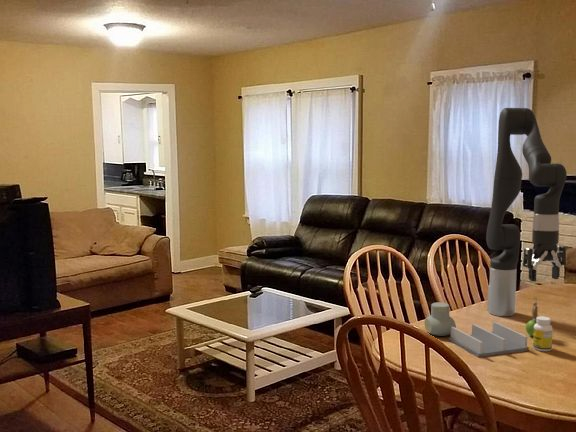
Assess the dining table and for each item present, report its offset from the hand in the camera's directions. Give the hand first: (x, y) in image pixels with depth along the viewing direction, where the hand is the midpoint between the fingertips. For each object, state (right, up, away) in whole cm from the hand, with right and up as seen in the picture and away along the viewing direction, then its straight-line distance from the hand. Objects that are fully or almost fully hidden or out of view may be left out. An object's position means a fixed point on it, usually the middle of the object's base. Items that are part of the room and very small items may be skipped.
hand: (543, 279), depth 189 cm
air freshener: (-29, -20, +14) cm, 38 cm away
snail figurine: (+1, -20, +11) cm, 22 cm away
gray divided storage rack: (-17, -21, +2) cm, 27 cm away
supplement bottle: (-1, -21, -1) cm, 21 cm away
